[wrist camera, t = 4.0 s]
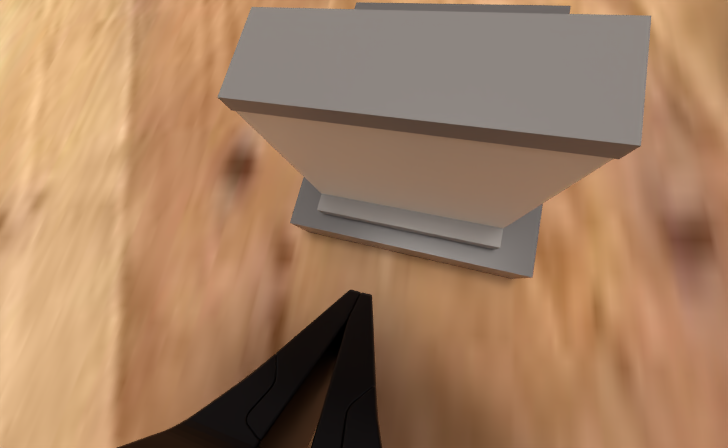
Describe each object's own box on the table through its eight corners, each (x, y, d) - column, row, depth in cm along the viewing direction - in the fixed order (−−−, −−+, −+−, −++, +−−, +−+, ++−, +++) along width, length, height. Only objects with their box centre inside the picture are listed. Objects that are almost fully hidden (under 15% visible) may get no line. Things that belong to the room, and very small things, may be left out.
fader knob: (496, 250, 14) (637, 190, 5) (320, 213, 16) (205, 126, 7) (511, 162, 15) (654, -20, 6) (341, 139, 17) (261, -19, 8)
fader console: (512, 278, 17) (533, 277, 14) (308, 231, 20) (288, 221, 17) (547, 46, 20) (572, 2, 17) (364, 38, 23) (355, -1, 20)
